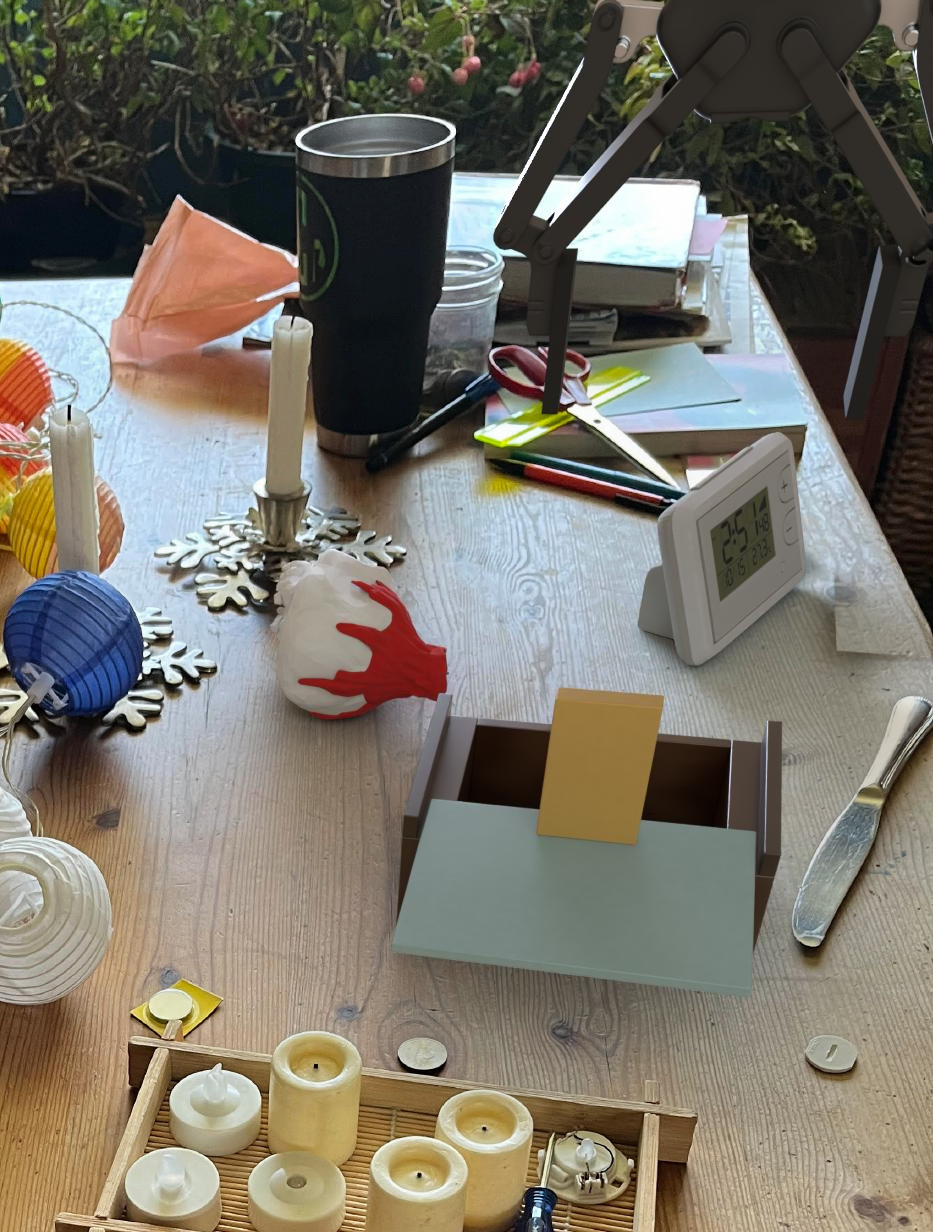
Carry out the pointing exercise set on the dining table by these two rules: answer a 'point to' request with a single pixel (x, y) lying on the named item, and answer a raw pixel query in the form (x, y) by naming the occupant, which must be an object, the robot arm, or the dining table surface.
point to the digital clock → (727, 551)
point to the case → (676, 793)
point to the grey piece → (586, 869)
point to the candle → (349, 639)
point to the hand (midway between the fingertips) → (698, 406)
